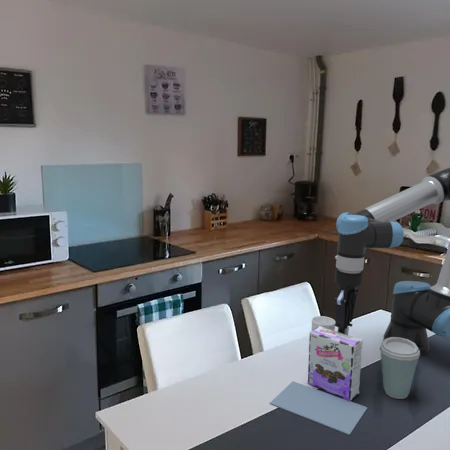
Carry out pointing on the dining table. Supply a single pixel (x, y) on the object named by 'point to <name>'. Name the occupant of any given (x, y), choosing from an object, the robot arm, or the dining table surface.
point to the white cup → (323, 322)
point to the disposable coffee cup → (398, 365)
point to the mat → (320, 407)
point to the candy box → (334, 362)
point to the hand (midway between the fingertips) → (341, 347)
